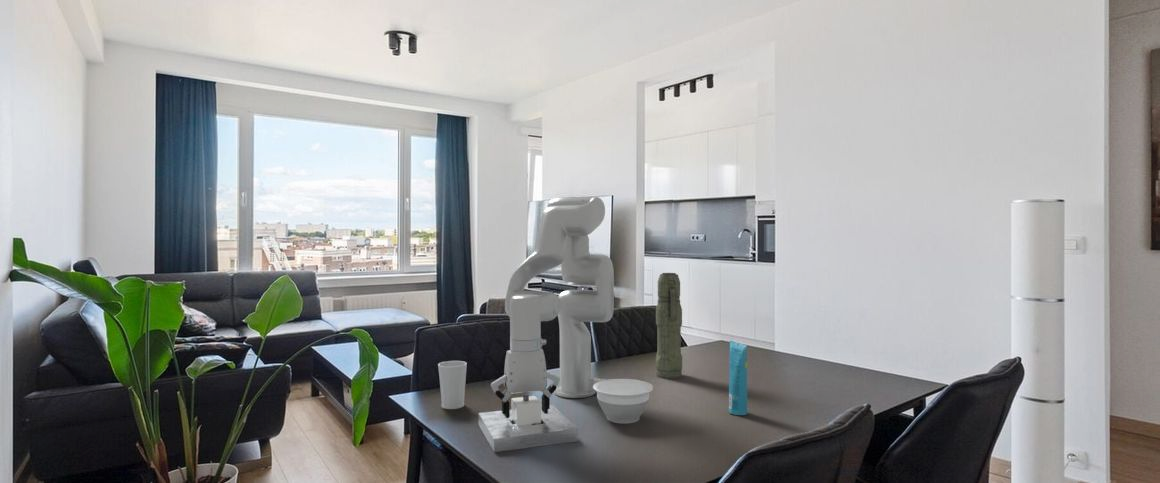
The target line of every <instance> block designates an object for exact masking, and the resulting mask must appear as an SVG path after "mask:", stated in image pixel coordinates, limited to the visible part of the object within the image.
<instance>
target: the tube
mask: <svg viewBox="0 0 1160 483" xmlns="http://www.w3.org/2000/svg"><path fill="white" fill-rule="evenodd" d="M747 347H748V345H747V344H744V343H740V342H737V341H734V340H731V339H729V374H728V375H729V376H728V377H729V380H728V413H729V414H731V415H734V416H746V415H747V414H748V373H747V372H748V359H747V355H748V354H747V351H748V350H747Z"/></svg>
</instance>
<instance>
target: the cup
mask: <svg viewBox="0 0 1160 483" xmlns="http://www.w3.org/2000/svg"><path fill="white" fill-rule="evenodd" d="M467 363H468V362H466V361H464V360H463V361H462V360H448V361H441V362H439V363H438V364H437V368H438V376H439V385H440V386H439V388H440V397H441V398H440V399H441V400H440V401H441V408H442V409H445V410H457V409H461V408H464V406H465V395H466V394H465V393H466V392H465V391H466V380H467V378H466V377H467Z"/></svg>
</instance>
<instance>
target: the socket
mask: <svg viewBox="0 0 1160 483" xmlns="http://www.w3.org/2000/svg"><path fill="white" fill-rule="evenodd" d="M478 426H479V429H480V430H481V431H482V433H483V435H484V438H485V439H486V441H487V442H488V444H489V446H490V448H491V449H492V452H494V453H500V452H506V451H507V452H508V451H513V450H521V449H529V448H535V447H536V448H537V447H544V446H550V445H560V444H564V443H565V444H567V443H573V442H578V441H579V439H578V438H579V432H578V431H579V429H578V428H577V426H576V425H575V424H574V423H573V422H572V421H570V419H568V418H567V416H565V415H564V414H563V413H562V412H561V411H560V410H559V409H558V408H557V407H556V406H555V405H554V404H550V409H548V414H545V413H544V412H543V411H542V405H541V423H540V424H537V425H534V424H526V425H518V426H517V425H516V424H514V421H513V420H512V418H511V409H510V417H509V418H506V417H505V415H504V414H502V410H496V411H486V412H485V411H483V412H478Z"/></svg>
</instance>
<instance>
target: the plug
mask: <svg viewBox="0 0 1160 483" xmlns="http://www.w3.org/2000/svg"><path fill="white" fill-rule="evenodd" d="M510 400H511V403H510V405H511V407H510V408H511V409H510V410H511V418H512V420H513V421H514V424H516V425H517V426H518V425H526V424H534V425H537V424H540V423H541V406H542V401H540V400H539V398H537V397H536V396H535V395H532V396H529V394H523V395H522V396H521V397H511V399H510Z"/></svg>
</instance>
